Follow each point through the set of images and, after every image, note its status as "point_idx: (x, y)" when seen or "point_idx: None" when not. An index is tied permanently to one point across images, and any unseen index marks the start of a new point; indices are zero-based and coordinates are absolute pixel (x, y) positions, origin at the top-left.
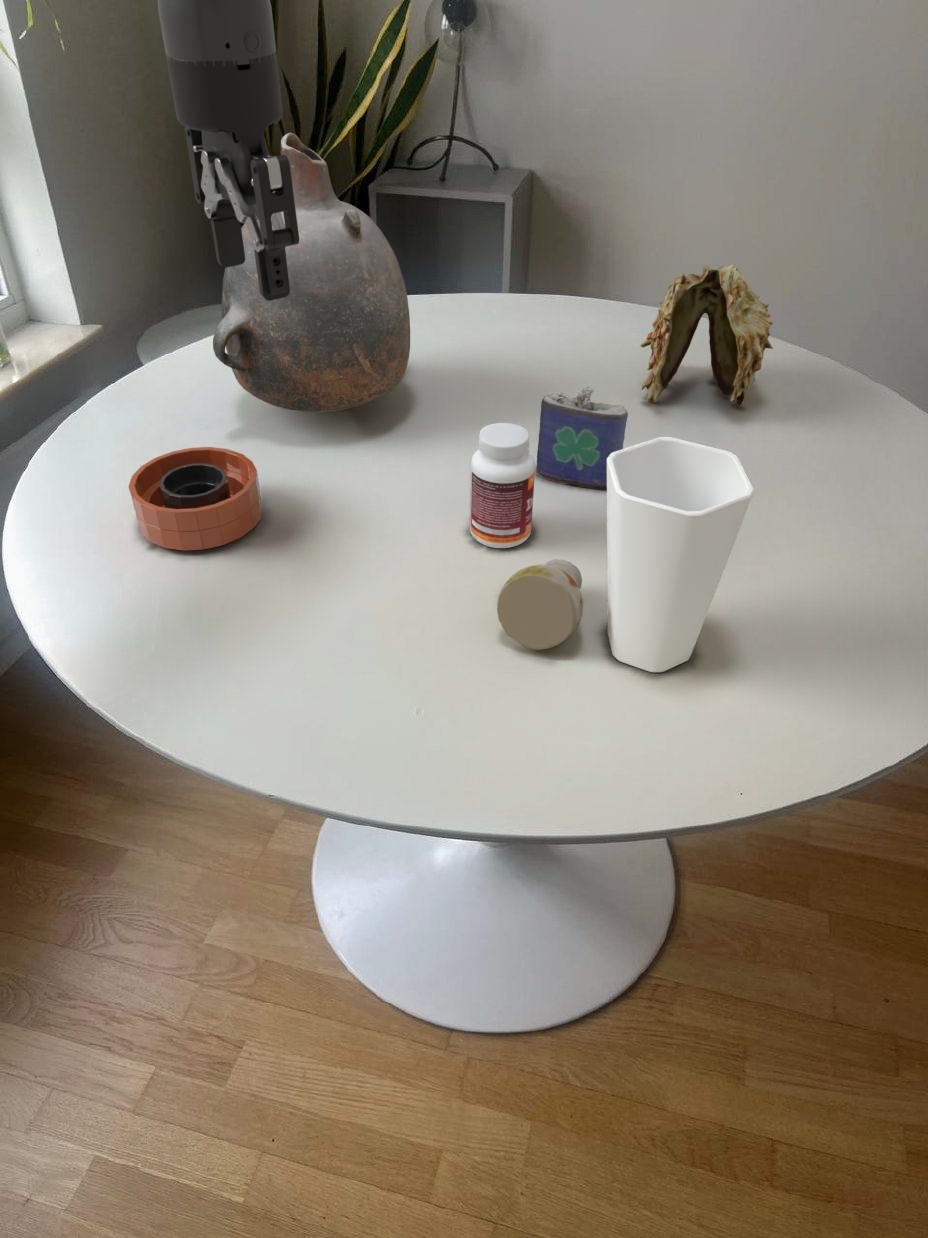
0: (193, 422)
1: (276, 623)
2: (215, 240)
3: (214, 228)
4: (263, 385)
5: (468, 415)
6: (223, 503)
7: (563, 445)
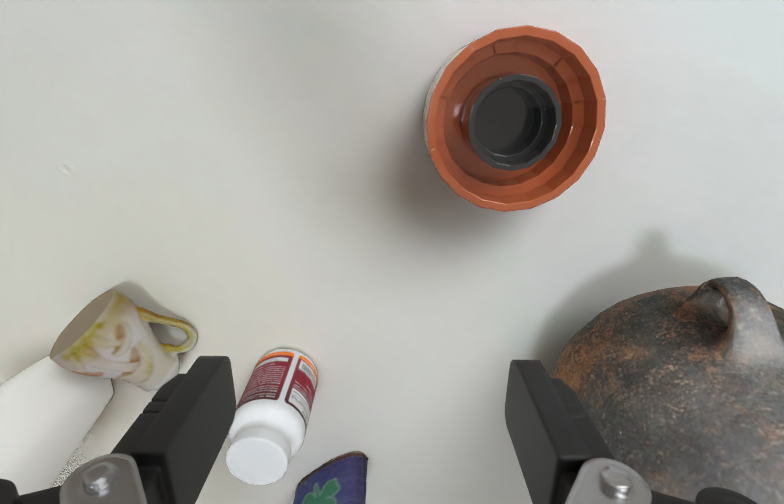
0: (731, 207)
1: (257, 108)
2: (549, 405)
3: (553, 436)
4: (645, 304)
5: (504, 462)
6: (428, 134)
7: (328, 496)
